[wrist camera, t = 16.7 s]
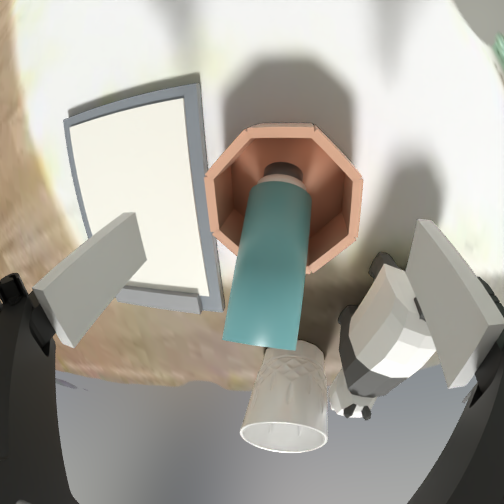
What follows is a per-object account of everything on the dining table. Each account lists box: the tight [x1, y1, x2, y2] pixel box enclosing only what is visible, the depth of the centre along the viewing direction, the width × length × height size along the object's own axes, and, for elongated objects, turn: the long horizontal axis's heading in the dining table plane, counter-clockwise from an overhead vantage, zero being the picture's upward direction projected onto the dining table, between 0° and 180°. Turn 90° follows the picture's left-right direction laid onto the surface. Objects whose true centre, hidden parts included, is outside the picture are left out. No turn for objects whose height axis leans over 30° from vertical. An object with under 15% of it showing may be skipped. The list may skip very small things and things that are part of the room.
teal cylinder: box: [222, 162, 312, 351], centre depth 16 cm, size 4×4×11 cm
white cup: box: [240, 340, 328, 453], centre depth 25 cm, size 8×8×10 cm
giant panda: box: [328, 253, 436, 420], centre depth 20 cm, size 15×6×10 cm, turn 166°
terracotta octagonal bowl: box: [204, 123, 363, 274], centre depth 18 cm, size 9×9×4 cm
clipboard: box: [63, 83, 225, 314], centre depth 23 cm, size 20×14×2 cm
